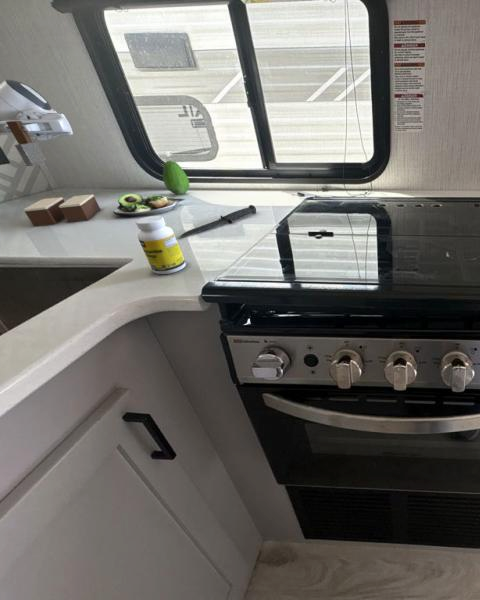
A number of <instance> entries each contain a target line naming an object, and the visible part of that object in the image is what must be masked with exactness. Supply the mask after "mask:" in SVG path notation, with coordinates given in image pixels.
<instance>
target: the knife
mask: <svg viewBox="0 0 480 600" xmlns="http://www.w3.org/2000/svg"><path fill="white" fill-rule="evenodd" d="M256 212H257V208H256V207H255V205H253V204H249V205H248V207H244V208H241V209H238V210H235V211H233V212H230V213H228V214H226V215H224V216H223V215H219V216H220V218H218V219H216V220H213V221H210V222H208V223H206V224H203V225H200V226H197V227H195V228H192V229H189V230H187V231H185V232H183V233H182V234H181V235H180V236H179V239H182V238H185V237H188V236H191V235H195V234H198V233H200V232H204V231H206V230H209V229H212V228H215V227H217V226H220V225H223V224H225V223H229V224H233V221H237V220H239V219H242V218H244V217H246V216H249V215H251V214H256Z"/></svg>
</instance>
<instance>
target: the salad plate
mask: <svg viewBox="0 0 480 600" xmlns="http://www.w3.org/2000/svg"><path fill="white" fill-rule="evenodd" d="M183 201H186V198H179V197H178V198H177V197H176V198H175V197H171V196H167V195H165V196H163V194H161V195H158V194H153V195H149V196H148V197H146V198H145V197H143V196H142V195H140V194H137V193H133V192H132V193H131V192H130V193H129V192H128V193H124V194H122V195H121V196H119V198H118V199H117V202H118V206H117V207H116V208H115V209H114V210H113V214H114V215H115V216H118V217H119V218H136V217H137V218H138V217H147V216H150V215H151V216H153V215H157V214H163V213H167V212H170V211H173V210H174V209H175V208H176V205H177V204H179V203H180V202H183Z"/></svg>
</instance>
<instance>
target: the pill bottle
mask: <svg viewBox="0 0 480 600" xmlns="http://www.w3.org/2000/svg"><path fill="white" fill-rule="evenodd" d="M135 224H136V226H137V228H138V230H140V231H139V232H138V234H137V239H138V241H139V243H140V246H141V248H142V250H143V253H144V255H145V257H146V260H147V261H148V264H149V265H150V268H151V271H152V272H153V273H154V274H157V275H169V274H174V273H177V272H179V271H181V270H182V269H184V268H185V267H186V264H187V263H186V260H185V257H184V255H183V252H182V250H181V248H180V245H179V242H178V240H177V237H176V235H175V232H174V230H173V229H172V228H171V227H169V226H167V224H166V221H165V219H164V217H163V216H162V215H151V216H150V215H148V216H143V217H141V218H138V219H136V220H135Z"/></svg>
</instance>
